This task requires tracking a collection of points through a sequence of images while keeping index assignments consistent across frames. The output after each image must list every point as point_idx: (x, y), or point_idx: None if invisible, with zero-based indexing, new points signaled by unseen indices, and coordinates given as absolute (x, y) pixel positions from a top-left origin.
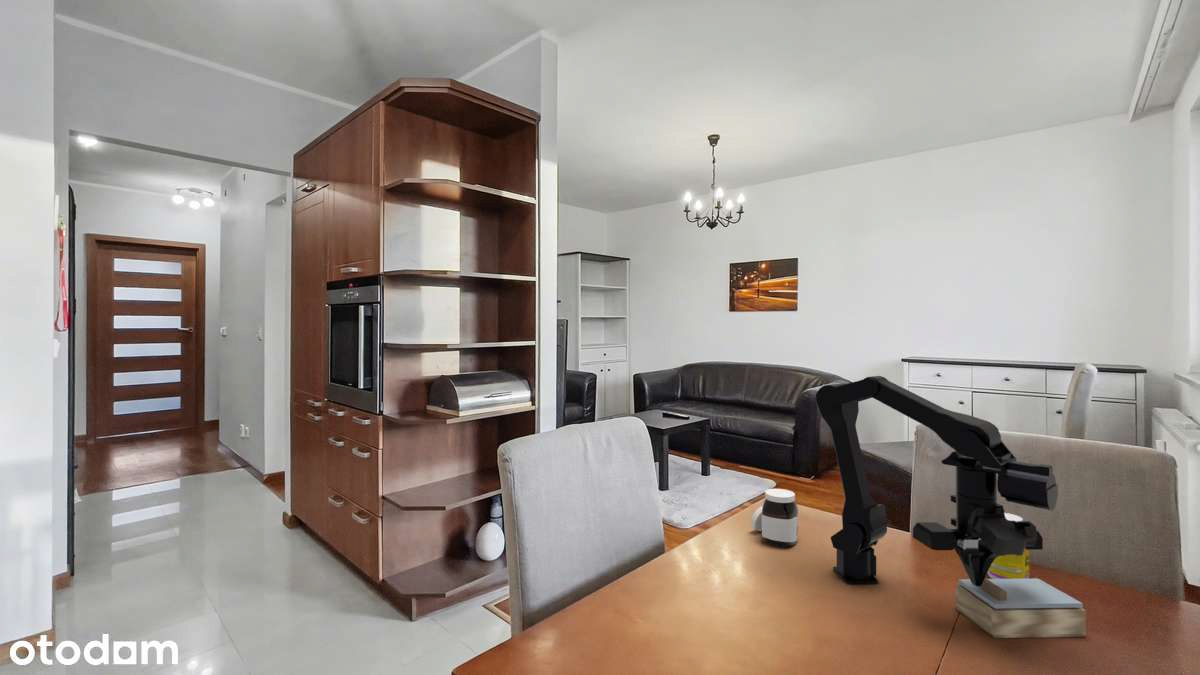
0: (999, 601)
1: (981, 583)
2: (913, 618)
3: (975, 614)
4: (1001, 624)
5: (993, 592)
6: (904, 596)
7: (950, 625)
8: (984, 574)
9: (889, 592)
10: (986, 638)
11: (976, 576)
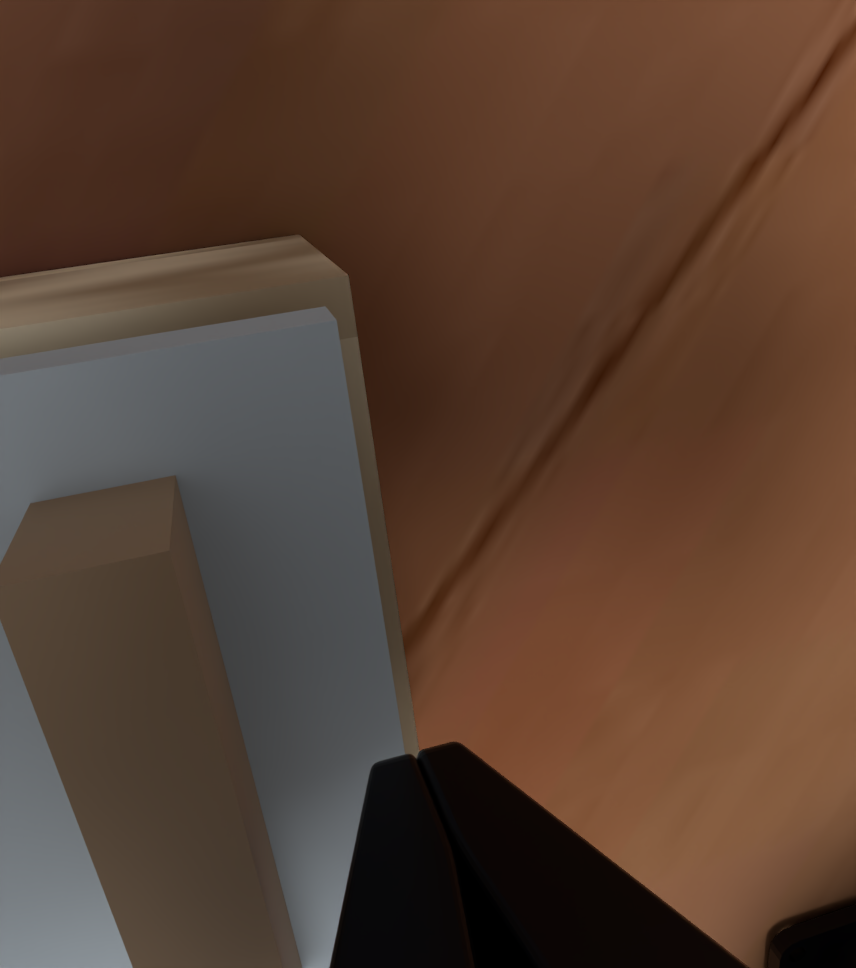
0: (190, 449)
1: (377, 794)
2: (833, 482)
3: None
4: (219, 263)
5: (209, 644)
6: (693, 808)
7: (597, 420)
8: (387, 952)
9: (766, 834)
10: (386, 218)
11: (557, 858)
